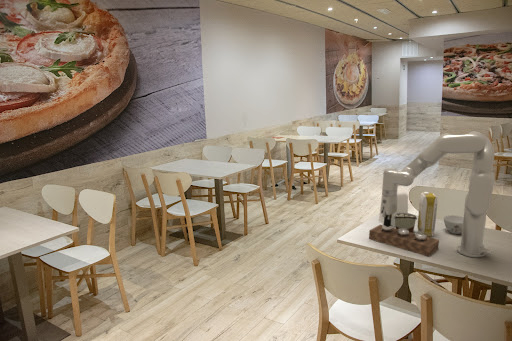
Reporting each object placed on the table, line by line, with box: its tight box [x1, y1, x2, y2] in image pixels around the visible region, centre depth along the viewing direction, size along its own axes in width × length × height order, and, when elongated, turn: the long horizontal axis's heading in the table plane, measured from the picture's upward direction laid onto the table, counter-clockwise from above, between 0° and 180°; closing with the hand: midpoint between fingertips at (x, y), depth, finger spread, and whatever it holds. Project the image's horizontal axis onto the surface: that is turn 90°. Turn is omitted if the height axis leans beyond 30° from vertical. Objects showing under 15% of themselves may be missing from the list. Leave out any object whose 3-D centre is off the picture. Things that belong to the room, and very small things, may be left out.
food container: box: [394, 212, 418, 233], centre depth 228 cm, size 12×6×10 cm, turn 84°
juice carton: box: [417, 191, 438, 238], centre depth 222 cm, size 9×8×24 cm
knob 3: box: [414, 231, 427, 242], centre depth 204 cm, size 5×5×6 cm
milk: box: [378, 185, 409, 228], centre depth 239 cm, size 12×12×26 cm
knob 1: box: [381, 223, 393, 233], centre depth 216 cm, size 5×5×6 cm
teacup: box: [443, 214, 464, 235], centre depth 225 cm, size 15×12×8 cm
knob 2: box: [398, 228, 409, 237], centre depth 210 cm, size 5×5×6 cm
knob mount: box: [368, 224, 440, 257], centre depth 211 cm, size 32×12×5 cm, turn 46°
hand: (387, 225), depth 216 cm, fingers closed
